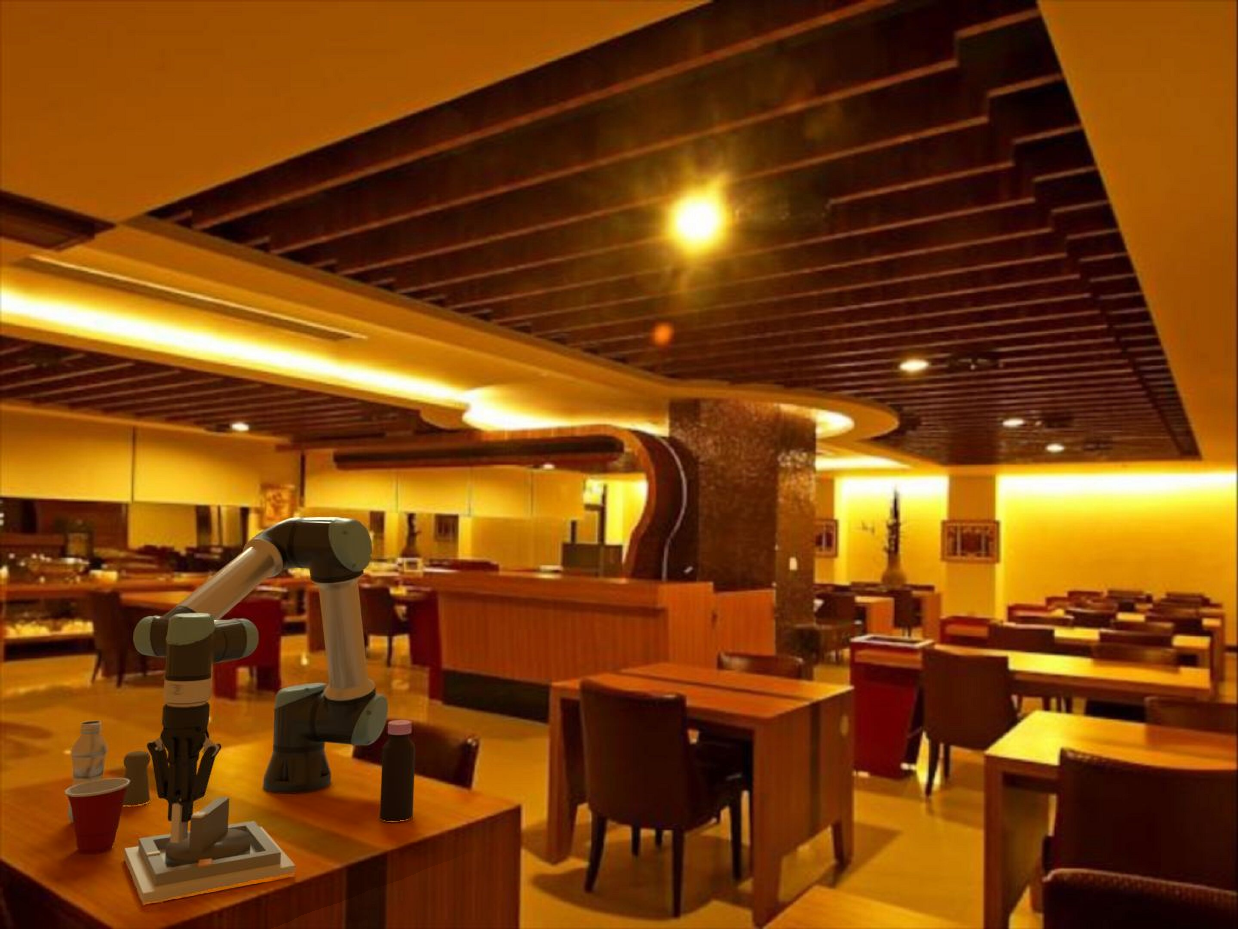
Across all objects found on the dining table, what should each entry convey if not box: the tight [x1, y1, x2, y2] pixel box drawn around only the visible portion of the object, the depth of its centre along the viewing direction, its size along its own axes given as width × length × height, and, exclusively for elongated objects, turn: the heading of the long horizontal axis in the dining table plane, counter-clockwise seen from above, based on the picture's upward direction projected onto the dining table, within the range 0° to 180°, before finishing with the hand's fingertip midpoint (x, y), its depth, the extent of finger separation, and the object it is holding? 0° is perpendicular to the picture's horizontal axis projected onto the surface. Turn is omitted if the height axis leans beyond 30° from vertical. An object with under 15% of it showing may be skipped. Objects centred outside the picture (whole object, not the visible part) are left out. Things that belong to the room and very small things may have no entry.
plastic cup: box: [64, 777, 130, 855], centre depth 175 cm, size 11×11×12 cm
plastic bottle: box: [67, 720, 108, 823], centre depth 190 cm, size 6×7×20 cm
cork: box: [123, 750, 151, 806], centre depth 203 cm, size 6×6×11 cm
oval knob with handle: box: [165, 796, 251, 867], centre depth 167 cm, size 14×14×9 cm
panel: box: [123, 820, 296, 903], centre depth 166 cm, size 24×24×4 cm
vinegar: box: [379, 719, 416, 822], centre depth 197 cm, size 7×7×20 cm
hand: (178, 840), depth 161 cm, fingers closed
